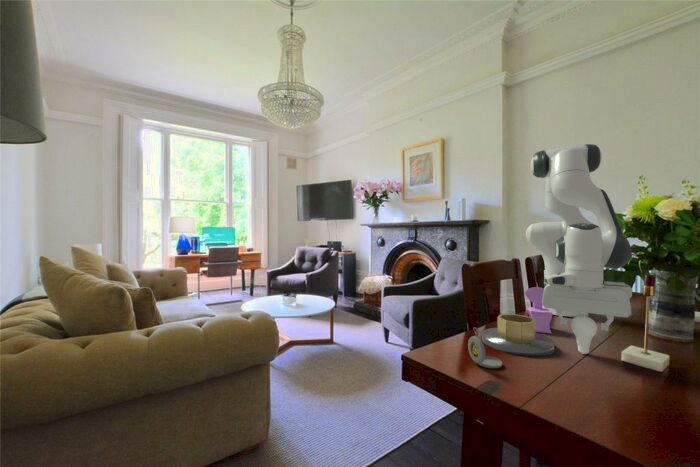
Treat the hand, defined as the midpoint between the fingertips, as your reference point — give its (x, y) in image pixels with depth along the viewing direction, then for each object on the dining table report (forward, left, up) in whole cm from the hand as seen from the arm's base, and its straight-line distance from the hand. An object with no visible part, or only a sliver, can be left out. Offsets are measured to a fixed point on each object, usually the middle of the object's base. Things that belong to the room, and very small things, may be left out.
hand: (583, 327), depth 88 cm
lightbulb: (0, 0, -8) cm, 8 cm away
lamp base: (+2, -17, -8) cm, 19 cm away
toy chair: (-19, -12, -8) cm, 24 cm away
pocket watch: (+24, -22, -8) cm, 33 cm away
